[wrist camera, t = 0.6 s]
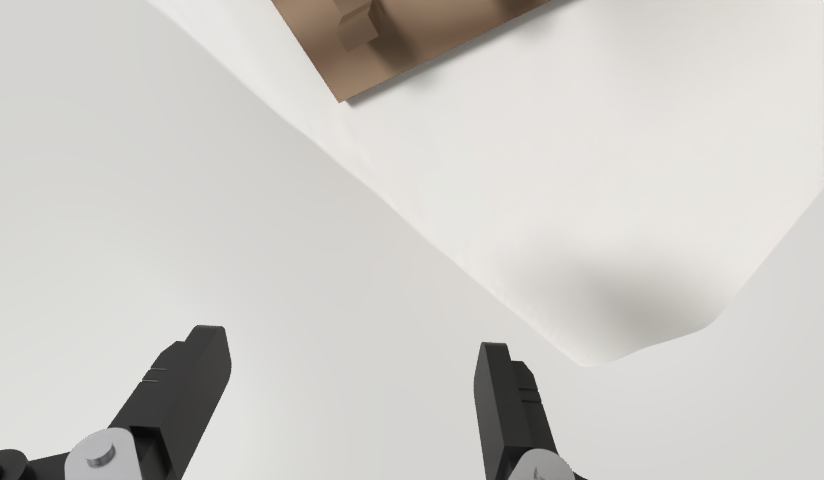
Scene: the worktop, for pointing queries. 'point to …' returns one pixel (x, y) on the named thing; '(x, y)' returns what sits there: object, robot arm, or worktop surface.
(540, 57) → the worktop surface
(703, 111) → the worktop surface
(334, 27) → the walnut bottle rack
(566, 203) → the worktop surface
